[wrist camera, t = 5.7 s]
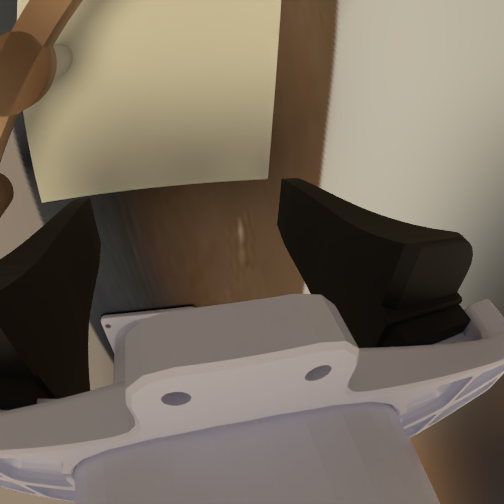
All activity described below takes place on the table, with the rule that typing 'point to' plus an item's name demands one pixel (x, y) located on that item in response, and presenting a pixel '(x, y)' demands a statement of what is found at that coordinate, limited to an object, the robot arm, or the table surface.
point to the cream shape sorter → (156, 96)
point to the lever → (28, 67)
